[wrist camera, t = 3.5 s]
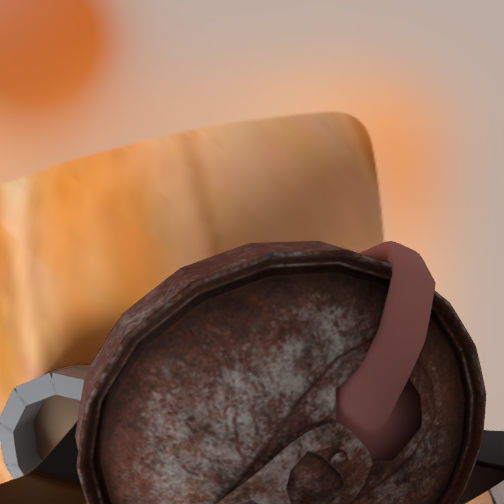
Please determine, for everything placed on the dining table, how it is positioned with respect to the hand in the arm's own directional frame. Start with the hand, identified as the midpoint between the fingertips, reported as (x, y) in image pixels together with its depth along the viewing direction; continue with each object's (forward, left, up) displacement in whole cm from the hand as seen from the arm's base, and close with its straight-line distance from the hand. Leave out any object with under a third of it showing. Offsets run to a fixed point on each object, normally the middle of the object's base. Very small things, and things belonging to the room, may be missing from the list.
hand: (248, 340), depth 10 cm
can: (-1, 0, -7) cm, 7 cm away
